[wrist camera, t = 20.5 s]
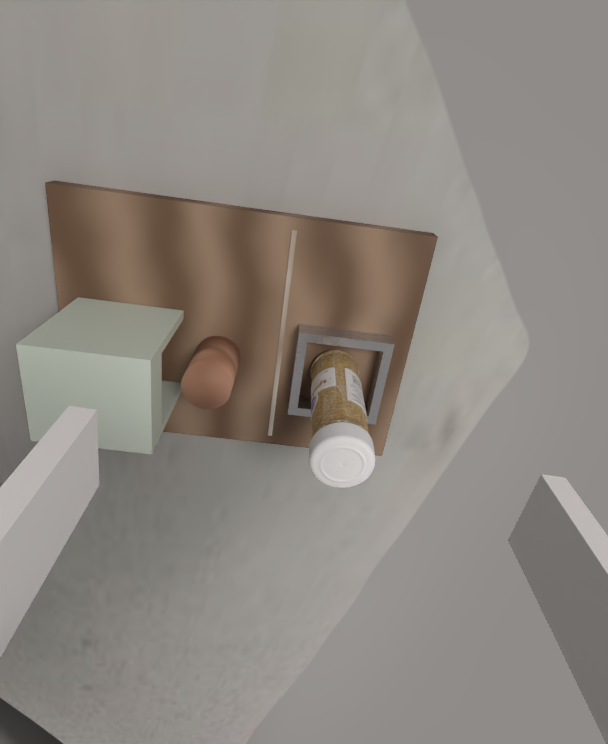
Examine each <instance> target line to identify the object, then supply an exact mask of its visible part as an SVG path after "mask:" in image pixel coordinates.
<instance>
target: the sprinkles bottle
mask: <svg viewBox="0 0 608 744" xmlns="http://www.w3.org/2000/svg"><path fill="white" fill-rule="evenodd" d="M310 375H311V379H312V386H311V420H312V439H311V441H310V445H309V465H310V469H311V471H312V473H313V475H314V476H315V477H316V478H317V479H318V480H319V481H321V482H322V483H324V484H326V485H328V486H332V487H336V488H347V487H352V486H355V485H358V484H360V483H362V482H363V481H365V480H366V479H367V478H368V477H369V476H370V475H371V473H372V471H373V469H374V467H375V451H374V445H373V441H372V439H371V437H370V435H369V431H368V425H367V414H366V409H365V403H364V397H363V391H362V386H361V382H360V379H359V367H358V363H357V361H356V360H355V358H354V357H353V356H352V355H350V354H349V353H347V352H345V351H342V350H337V349H336V350H329V351H326V352H324V353H322V354H320V355H319V356H317V358H316V359H315V360H314V362H313V363H312V365H311V370H310Z"/></svg>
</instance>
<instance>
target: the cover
mask: <svg viewBox="0 0 608 744" xmlns="http://www.w3.org/2000/svg"><path fill="white" fill-rule="evenodd" d="M183 319H184V311H183V310H175V309H167V308H159V307H152V306H144V305H136V304H128V303H120V302H112V301H104V300H96V299H88V298H80V297H78V298H76V299H75V300H74V301H72V302H71V303H70V304H68V305H67V306H66V307H65V308H63V309H62V310H61V311H59V312H58V313H57V314H55V315H54V316H53V317H51V318H50V319H49V320H47V321H46V322H45V323H43V324H42V325H41V326H39V327H38V328H37V329H35V330H34V331H33V332H31V333H30V334H29V335H27V336H26V337H25V338H23V339H22V340H21V341H20V342H18V343H17V344H16V348H17V354H18V361H19V367H20V374H21V380H22V387H23V393H24V400H25V406H26V413H27V419H28V426H29V432H30V439H31V441H35V442H39V441H40V440H41V439H42V437H43V436H44V435H45V434H46V433H47V431H48V430H49V429H50V428H51V427H52V425H53V424H54V423H55V422H56V421H57V420H58V418H59V417H60V416H61V415H62V414H63V412H64V411H65V410H66V409H67V408H68V407H69V406H75V407H82V408H89V409H95V410H97V426H98V449H107V450H117V451H126V452H135V453H144V454H152V453H153V451H154V449H155V447H156V445H157V443H158V441H159V438H160V436H161V434H162V432H163V430H164V428H165V426H166V424H167V421H168V419H169V417H170V415H171V413H172V411H173V409H174V407H175V404H176V402H177V400H178V398H179V396H180V394H181V392H182V390H181V383H179V382H170V381H162V352H163V351H164V349H165V347H166V346H167V344H168V343H169V341H170V340H171V338H172V336H173V335H174V333H175V332H176V330H177V329H178V327H179V325H180V324H181V322H182V321H183Z"/></svg>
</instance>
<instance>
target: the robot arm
mask: <svg viewBox="0 0 608 744" xmlns="http://www.w3.org/2000/svg"><path fill="white" fill-rule="evenodd" d="M98 487H99V461H98V426H97V410H95V409H89V408H82V407H75V406H69V407H68V408H67V409H66V410H65V411H64V412H63V414H62V415H61V416H60V417H59V418H58V420H57V421H56V422H55V423H54V424H53V425H52V427H51V428H50V429H49V430H48V431H47V433H46V434H45V435H44V436H43V437H42V439H41V440H40V441H39V442H38V443H37V444H36V446H35V447H34V448H33V449H32V450H31V452H30V453H29V454H28V455H27V456H26V458H25V459H24V460H23V461H22V462H21V463H20V465H19V466H18V467H17V468H16V469H15V471H14V472H13V473H12V474H11V475H10V477H9V478H8V479H7V480H6V481H5V482H4V484H3V485H2V486H1V487H0V657H1V655H2V654H3V652H4V650H5V649H6V647H7V645H8V643H9V642H10V640H11V638H12V636H13V635H14V633H15V631H16V629H17V628H18V626H19V624H20V622H21V621H22V619H23V617H24V615H25V614H26V612H27V610H28V608H29V607H30V605H31V603H32V601H33V600H34V598H35V596H36V595H37V593H38V591H39V589H40V588H41V586H42V584H43V582H44V581H45V579H46V577H47V575H48V574H49V572H50V570H51V568H52V567H53V565H54V563H55V561H56V560H57V558H58V556H59V554H60V553H61V551H62V549H63V548H64V546H65V544H66V542H67V541H68V539H69V537H70V535H71V534H72V532H73V530H74V528H75V527H76V525H77V523H78V521H79V520H80V518H81V516H82V514H83V513H84V511H85V509H86V507H87V506H88V504H89V502H90V500H91V499H92V497H93V495H94V494H95V492H96V490H97V488H98ZM508 541H509V543H510V545H511V547H512V549H513V551H514V554H515V556H516V558H517V560H518V562H519V564H520V566H521V568H522V570H523V572H524V574H525V576H526V578H527V581H528V583H529V585H530V587H531V589H532V591H533V593H534V595H535V597H536V599H537V601H538V603H539V605H540V607H541V610H542V612H543V613H544V616H545V618H546V620H547V622H548V624H549V626H550V628H551V630H552V632H553V634H554V636H555V639H556V640H557V642H558V645H559V647H560V649H561V651H562V653H563V655H564V657H565V659H566V661H567V663H568V665H569V668H570V669H571V672H572V674H573V676H574V678H575V680H576V682H577V684H578V686H579V688H580V690H581V692H582V695H583V697H584V699H585V700H586V703H587V705H588V707H589V709H590V711H591V713H592V715H593V717H594V719H595V721H596V723H597V726H598V728H599V730H600V732H601V734H602V736H603V738H604V740H605V742H606V744H608V536H607V534H606V533H605V532H604V530H603V529H602V528H601V526H600V525H599V523H598V522H597V521H596V519H595V518H594V517H593V515H592V514H591V512H590V511H589V510H588V509H587V507H586V506H585V504H584V503H583V501H582V500H581V499H580V497H579V496H578V495H577V493H576V492H575V491H574V489H573V488H572V486H571V485H570V484H569V482H568V481H567V480H566V478H563V477H556V476H549V475H541V476H540V478H539V480H538V482H537V484H536V486H535V488H534V490H533V492H532V494H531V496H530V498H529V500H528V502H527V504H526V506H525V508H524V510H523V511H522V514H521V515H520V517H519V520H518V521H517V523H516V525H515V528H514V529H513V532H512V533H511V536H510V537H509V539H508Z"/></svg>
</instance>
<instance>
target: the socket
mask: <svg viewBox="0 0 608 744" xmlns="http://www.w3.org/2000/svg"><path fill="white" fill-rule="evenodd" d="M307 342H309V343H317V344H325V345H333V346H341V347H349V348H357V349H365V350H373V351H378V355H377V360H376V364H375V369H374V373H373V378H372V382H371V387H370V391H369V395H368V400H367V404H366V405H365V409H366V414H367V424H375V425H376V420H377V416H378V412H379V408H380V404H381V400H382V395H383V391H384V387H385V383H386V379H387V374H388V370H389V366H390V362H391V358H392V353H393V349H394V345H395V344H394V341H393V339H392V336H391V335H385V334H377V333H369V332H361V331H353V330H346V329H338V328H330V327H322V326H314V325H306V324H299V330H298V338H297V345H296V352H295V360H294V367H293V374H292V381H291V389H290V396H289V404H288V414H289V415H297V416H306V417H311V398H302V397H299V394H300V388H301V381H302V374H303V367H304V360H305V354H306V347H307Z"/></svg>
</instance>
